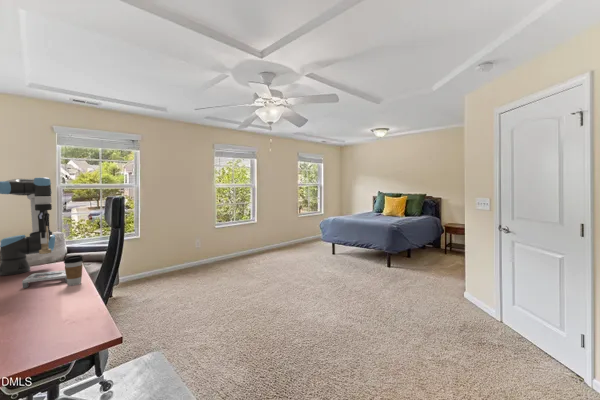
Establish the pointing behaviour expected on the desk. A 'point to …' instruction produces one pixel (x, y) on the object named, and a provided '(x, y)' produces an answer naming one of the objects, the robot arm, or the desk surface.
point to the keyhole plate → (46, 277)
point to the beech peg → (45, 246)
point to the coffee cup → (73, 269)
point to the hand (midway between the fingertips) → (44, 242)
